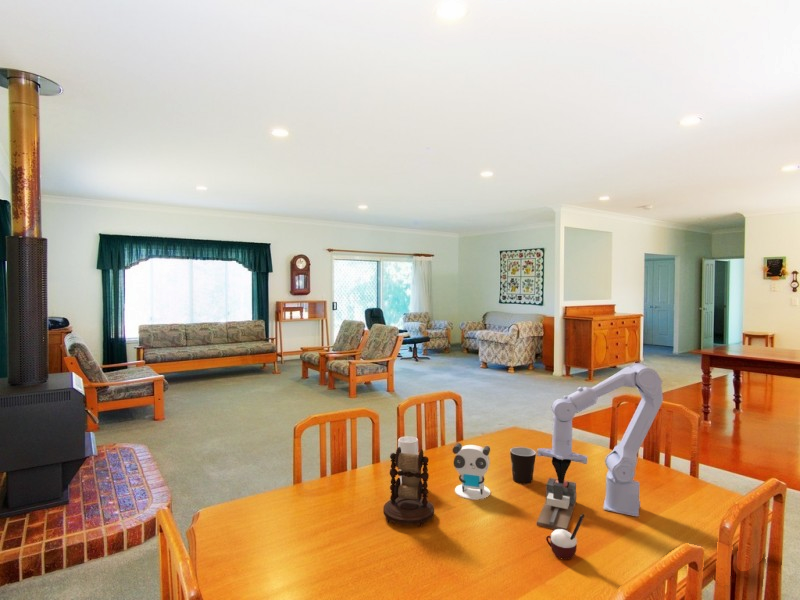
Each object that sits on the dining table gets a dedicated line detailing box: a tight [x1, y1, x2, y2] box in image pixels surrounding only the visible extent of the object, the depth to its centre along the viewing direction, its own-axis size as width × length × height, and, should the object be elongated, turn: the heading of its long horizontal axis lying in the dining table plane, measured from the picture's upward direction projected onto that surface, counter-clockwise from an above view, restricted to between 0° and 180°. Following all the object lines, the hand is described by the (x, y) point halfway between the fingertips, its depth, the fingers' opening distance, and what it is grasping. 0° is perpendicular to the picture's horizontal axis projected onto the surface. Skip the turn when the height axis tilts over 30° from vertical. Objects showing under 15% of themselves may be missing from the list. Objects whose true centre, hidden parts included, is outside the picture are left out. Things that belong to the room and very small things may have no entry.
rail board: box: [536, 477, 577, 531], centre depth 141 cm, size 8×20×6 cm, turn 153°
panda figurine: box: [452, 442, 491, 501], centre depth 155 cm, size 12×11×15 cm
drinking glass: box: [397, 435, 419, 485], centre depth 161 cm, size 7×7×15 cm
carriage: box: [545, 482, 570, 509], centre depth 142 cm, size 6×4×6 cm, turn 63°
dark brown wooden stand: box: [382, 446, 435, 528], centre depth 139 cm, size 15×15×20 cm
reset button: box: [555, 479, 568, 488], centre depth 148 cm, size 4×4×2 cm
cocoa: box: [545, 513, 585, 560], centre depth 119 cm, size 10×6×12 cm, turn 22°
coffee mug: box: [509, 446, 537, 485], centre depth 165 cm, size 12×9×10 cm
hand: (561, 482), depth 148 cm, fingers closed, pressing on reset button
